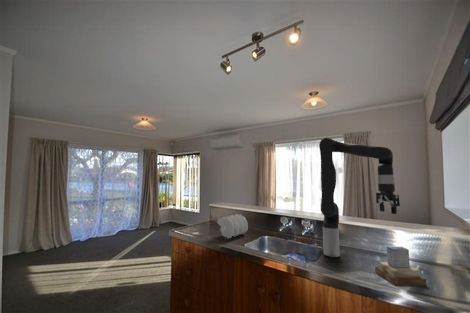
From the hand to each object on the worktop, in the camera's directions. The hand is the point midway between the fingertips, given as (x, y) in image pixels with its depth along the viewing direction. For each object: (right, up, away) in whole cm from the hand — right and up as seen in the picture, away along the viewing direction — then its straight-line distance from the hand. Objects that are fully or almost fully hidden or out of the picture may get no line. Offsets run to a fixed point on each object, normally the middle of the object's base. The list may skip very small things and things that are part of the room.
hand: (387, 212), depth 115 cm
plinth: (-4, -29, -13) cm, 32 cm away
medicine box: (-4, -23, -12) cm, 27 cm away
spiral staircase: (-86, -36, +59) cm, 110 cm away
